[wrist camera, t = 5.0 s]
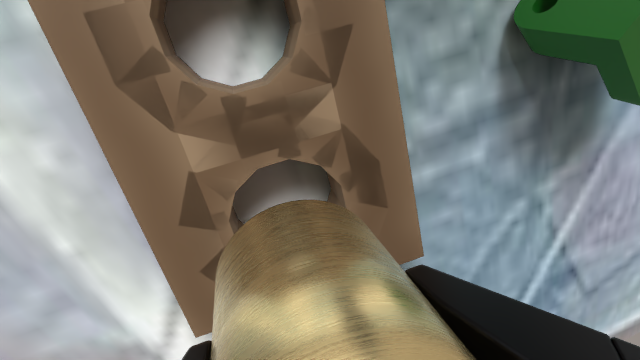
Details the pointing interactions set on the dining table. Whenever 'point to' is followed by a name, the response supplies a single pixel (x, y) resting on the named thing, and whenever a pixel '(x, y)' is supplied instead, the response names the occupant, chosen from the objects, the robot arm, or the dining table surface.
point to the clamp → (588, 37)
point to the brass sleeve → (320, 293)
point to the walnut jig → (237, 126)
